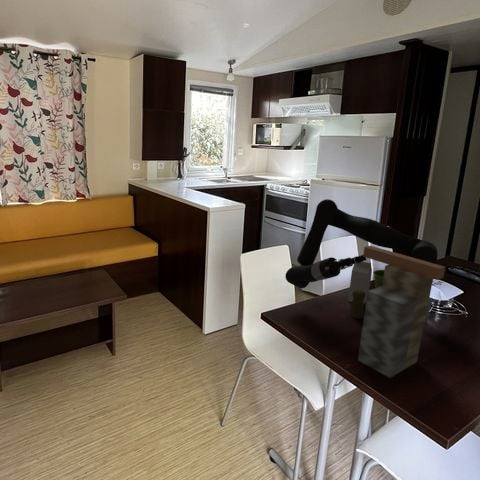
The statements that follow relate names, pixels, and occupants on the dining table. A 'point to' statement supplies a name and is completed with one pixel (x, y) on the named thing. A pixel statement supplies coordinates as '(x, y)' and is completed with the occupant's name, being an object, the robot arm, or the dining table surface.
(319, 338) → the dining table surface
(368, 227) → the robot arm
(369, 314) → the stepped stand
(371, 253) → the block
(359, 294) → the olive cylinder
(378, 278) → the plant pot
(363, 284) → the milk carton
